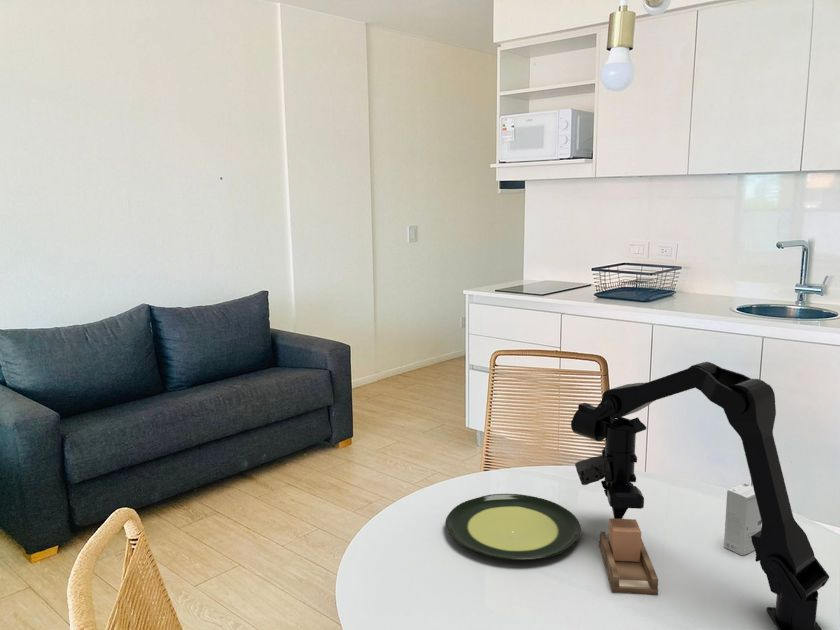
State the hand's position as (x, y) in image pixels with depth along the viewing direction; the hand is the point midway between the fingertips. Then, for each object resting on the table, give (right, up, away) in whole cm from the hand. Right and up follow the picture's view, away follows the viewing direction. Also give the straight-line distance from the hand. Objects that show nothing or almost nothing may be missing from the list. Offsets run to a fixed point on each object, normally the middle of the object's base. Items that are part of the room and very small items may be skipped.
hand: (617, 520), depth 134 cm
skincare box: (+24, -5, -3) cm, 24 cm away
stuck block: (-1, -4, -7) cm, 8 cm away
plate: (-21, -4, +4) cm, 22 cm away
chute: (-1, -6, -10) cm, 12 cm away
